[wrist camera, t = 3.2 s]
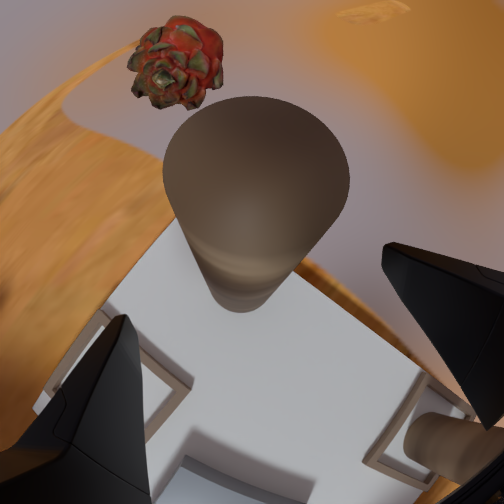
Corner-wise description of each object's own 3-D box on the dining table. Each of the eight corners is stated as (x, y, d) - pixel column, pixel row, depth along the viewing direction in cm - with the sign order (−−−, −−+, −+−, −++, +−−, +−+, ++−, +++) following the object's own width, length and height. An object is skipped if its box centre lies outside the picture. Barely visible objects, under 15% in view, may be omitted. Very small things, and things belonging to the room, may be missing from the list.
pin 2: (451, 422, 16) (582, 446, 4) (424, 465, 15) (544, 517, 3) (423, 403, 17) (571, 427, 4) (393, 450, 16) (526, 514, 3)
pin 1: (285, 275, 19) (377, 157, 6) (247, 326, 18) (280, 297, 5) (235, 237, 19) (242, 76, 7) (195, 285, 18) (125, 177, 6)
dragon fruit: (187, 150, 24) (171, 83, 29) (265, 89, 21) (228, 35, 25) (106, 106, 17) (114, 46, 22) (192, 20, 14) (174, -12, 18)
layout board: (466, 408, 17) (480, 410, 16) (322, 577, 12) (327, 588, 10) (195, 205, 21) (192, 193, 19) (40, 406, 16) (26, 409, 14)
